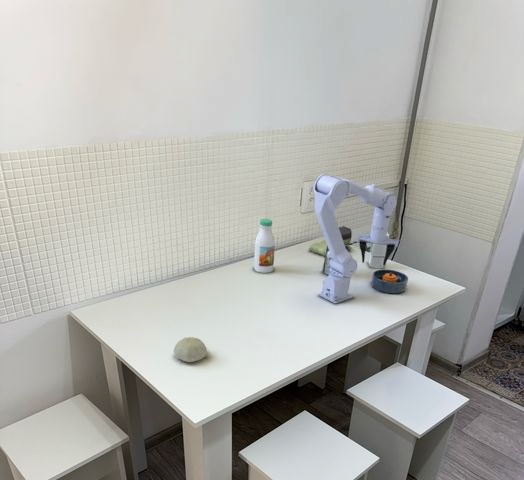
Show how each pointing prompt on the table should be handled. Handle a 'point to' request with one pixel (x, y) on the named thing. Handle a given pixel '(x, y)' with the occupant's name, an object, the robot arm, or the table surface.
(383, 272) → the bowl
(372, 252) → the syrup box
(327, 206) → the robot arm
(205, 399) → the table surface
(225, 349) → the table surface
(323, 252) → the washcloth
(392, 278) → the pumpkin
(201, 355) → the sea urchin shell
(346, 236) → the coffee jar
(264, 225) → the milk bottle
